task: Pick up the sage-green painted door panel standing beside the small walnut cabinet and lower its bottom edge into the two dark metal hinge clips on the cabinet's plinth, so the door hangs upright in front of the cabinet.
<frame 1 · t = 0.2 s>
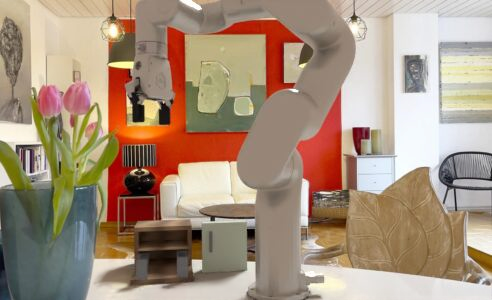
hand: (152, 123, 101), 36 cm above the table, tool pointing down, fingers open, 9 cm apart
cabinet: (163, 270, 103), on the table
door: (224, 269, 104), on the table
hinge clips: (162, 278, 97), resting on cabinet
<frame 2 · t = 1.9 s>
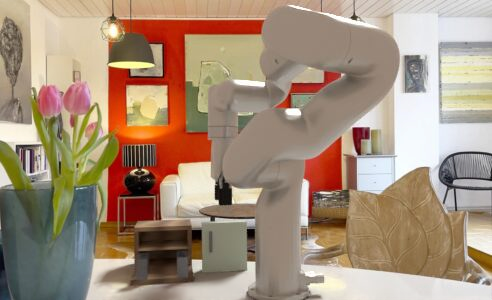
hand: (222, 202, 104), 17 cm above the table, tool pointing down, fingers open, 9 cm apart
nothing on the table moved.
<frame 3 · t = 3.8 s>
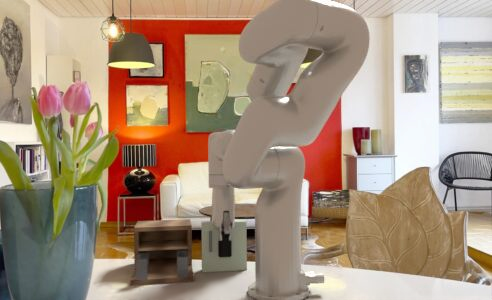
hand: (224, 254, 104), 4 cm above the table, tool pointing down, fingers closed on door, 2 cm apart
door: (224, 269, 104), on the table, touching gripper
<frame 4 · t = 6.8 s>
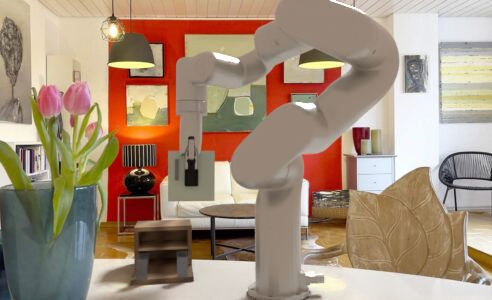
hand: (191, 185, 100), 21 cm above the table, tool pointing down, fingers closed on door, 2 cm apart
door: (191, 200, 101), point 18 cm above the table, touching gripper
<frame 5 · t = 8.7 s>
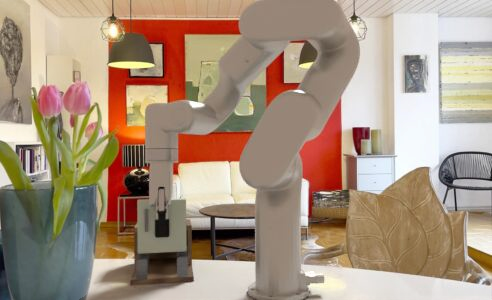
hand: (162, 235, 97), 10 cm above the table, tool pointing down, fingers closed on door, 2 cm apart
door: (162, 251, 97), point 6 cm above the table, touching gripper
when the fingers open (5 cm above the table, at t = 10.0 s): door stays where it is, resting on cabinet.
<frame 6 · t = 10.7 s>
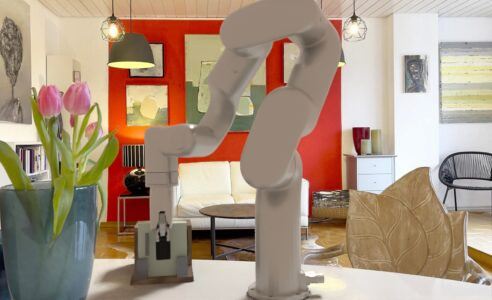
hand: (163, 254, 96), 6 cm above the table, tool pointing down, fingers open, 8 cm apart
door: (163, 274, 97), point 1 cm above the table, touching cabinet
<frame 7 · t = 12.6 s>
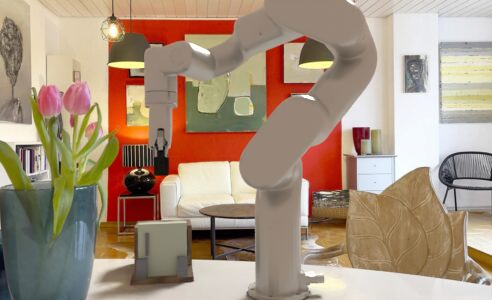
hand: (161, 174, 97), 24 cm above the table, tool pointing down, fingers open, 9 cm apart
nothing on the table moved.
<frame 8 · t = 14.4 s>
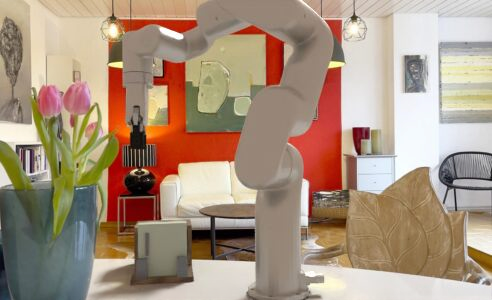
hand: (138, 149, 105), 30 cm above the table, tool pointing down, fingers open, 9 cm apart
nothing on the table moved.
at the end: door 0.1 cm off-centre on the hinge clips, point 1.0 cm above the hinge clips's base; door tilted 0°; the gripper is holding nothing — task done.
